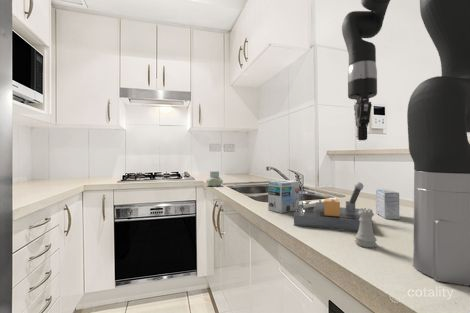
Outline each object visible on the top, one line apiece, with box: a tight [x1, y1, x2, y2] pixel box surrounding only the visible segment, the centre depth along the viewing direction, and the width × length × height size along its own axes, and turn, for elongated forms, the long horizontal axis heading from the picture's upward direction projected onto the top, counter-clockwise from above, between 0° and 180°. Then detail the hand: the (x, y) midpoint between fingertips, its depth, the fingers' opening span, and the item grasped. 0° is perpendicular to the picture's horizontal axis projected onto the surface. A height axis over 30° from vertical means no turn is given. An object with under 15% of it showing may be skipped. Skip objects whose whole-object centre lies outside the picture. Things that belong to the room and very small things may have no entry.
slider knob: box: [324, 197, 341, 217], centre depth 71 cm, size 4×4×5 cm
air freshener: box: [205, 170, 223, 187], centre depth 164 cm, size 11×8×10 cm
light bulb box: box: [267, 179, 301, 214], centre depth 91 cm, size 11×7×11 cm, turn 129°
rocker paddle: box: [304, 196, 338, 208], centre depth 77 cm, size 4×10×1 cm, turn 70°
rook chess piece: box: [354, 207, 378, 249], centre depth 55 cm, size 4×4×8 cm
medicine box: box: [375, 189, 401, 220], centre depth 82 cm, size 8×4×9 cm, turn 168°
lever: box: [349, 181, 364, 205], centre depth 78 cm, size 3×3×9 cm
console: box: [293, 198, 374, 233], centre depth 75 cm, size 17×20×6 cm
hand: (362, 140), depth 71 cm, fingers closed
